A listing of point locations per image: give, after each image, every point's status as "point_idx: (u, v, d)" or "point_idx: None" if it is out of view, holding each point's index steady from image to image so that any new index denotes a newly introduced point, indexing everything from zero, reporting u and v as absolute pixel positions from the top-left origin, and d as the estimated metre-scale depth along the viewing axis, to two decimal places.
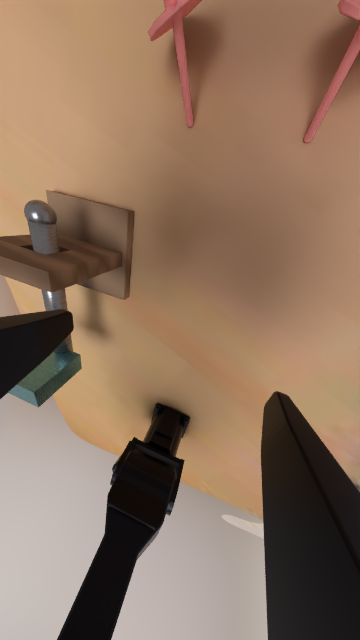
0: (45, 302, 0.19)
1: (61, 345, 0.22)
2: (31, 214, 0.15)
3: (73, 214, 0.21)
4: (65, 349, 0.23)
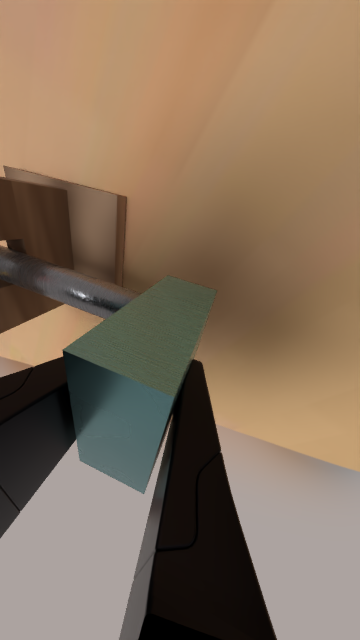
0: (41, 290, 0.10)
1: None
2: None
3: None
4: None
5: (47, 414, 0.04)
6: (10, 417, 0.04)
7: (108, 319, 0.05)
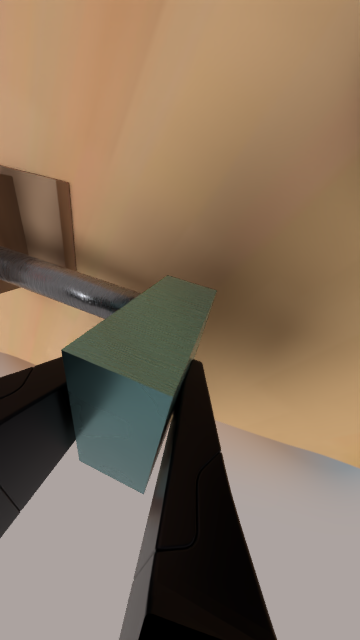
0: (41, 290, 0.10)
1: None
2: None
3: None
4: None
5: (47, 414, 0.04)
6: (10, 417, 0.04)
7: (107, 319, 0.05)
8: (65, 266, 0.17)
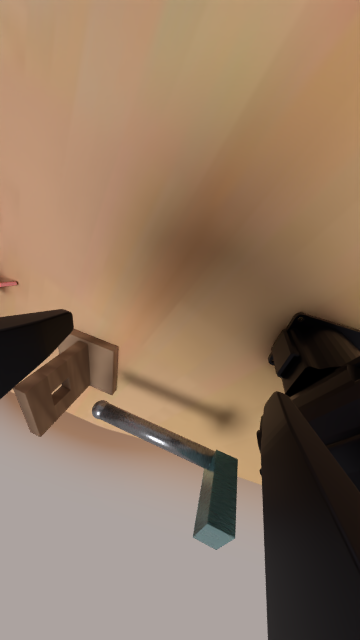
0: (154, 444, 0.22)
1: (200, 459, 0.21)
2: (94, 415, 0.23)
3: None
4: (207, 458, 0.21)
5: None
6: None
7: (210, 502, 0.17)
8: (112, 381, 0.30)
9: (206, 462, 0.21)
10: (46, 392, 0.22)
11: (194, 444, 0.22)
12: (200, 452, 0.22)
